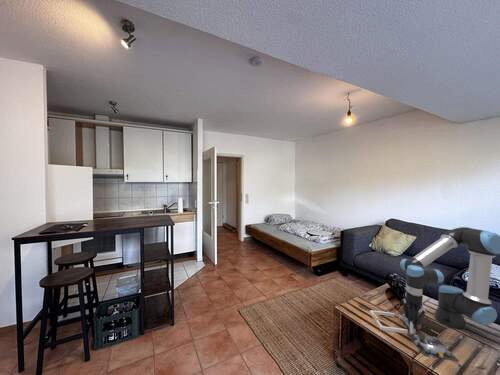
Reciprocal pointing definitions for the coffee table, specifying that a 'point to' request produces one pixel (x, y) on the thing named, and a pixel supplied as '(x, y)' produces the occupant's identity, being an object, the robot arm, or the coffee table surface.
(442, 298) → the robot arm
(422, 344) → the sprocket
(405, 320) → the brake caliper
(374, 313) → the white angled bracket
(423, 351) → the index plate
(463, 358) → the coffee table surface
